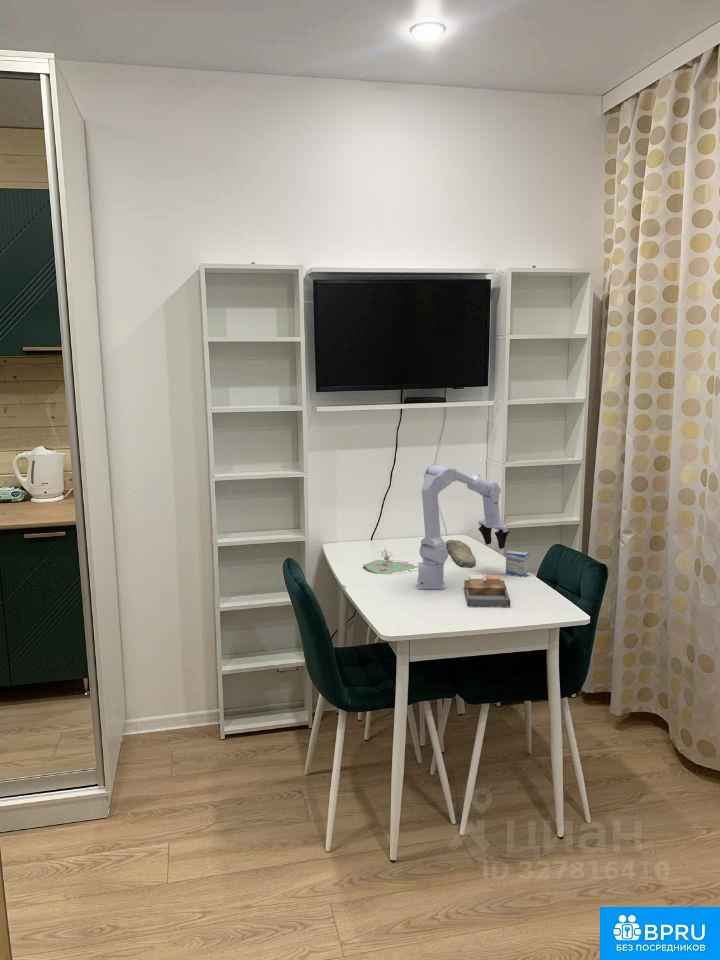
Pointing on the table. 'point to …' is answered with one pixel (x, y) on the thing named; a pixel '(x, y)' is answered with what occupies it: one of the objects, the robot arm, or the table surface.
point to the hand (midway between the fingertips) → (495, 546)
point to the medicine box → (517, 563)
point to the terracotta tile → (492, 579)
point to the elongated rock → (461, 553)
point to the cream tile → (476, 579)
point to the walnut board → (485, 588)
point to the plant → (388, 566)
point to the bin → (487, 600)
